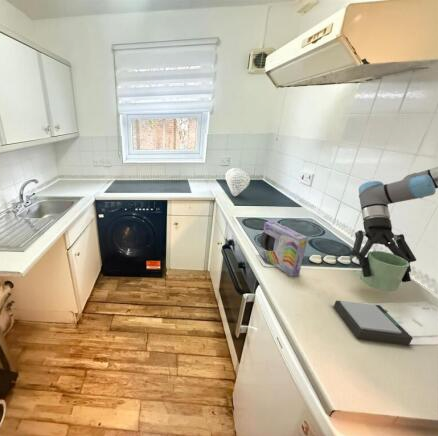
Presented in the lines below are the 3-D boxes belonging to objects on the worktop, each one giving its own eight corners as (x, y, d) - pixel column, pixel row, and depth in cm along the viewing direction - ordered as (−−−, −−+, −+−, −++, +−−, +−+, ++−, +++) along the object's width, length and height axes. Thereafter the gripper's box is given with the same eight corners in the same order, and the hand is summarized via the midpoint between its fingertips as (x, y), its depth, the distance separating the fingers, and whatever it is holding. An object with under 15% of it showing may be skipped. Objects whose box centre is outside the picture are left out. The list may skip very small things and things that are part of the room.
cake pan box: (256, 254, 113) (263, 220, 106) (265, 252, 114) (272, 219, 108) (290, 277, 96) (300, 239, 89) (299, 275, 98) (310, 237, 91)
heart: (221, 191, 212) (224, 166, 203) (239, 191, 210) (243, 166, 202) (228, 201, 186) (232, 173, 177) (249, 201, 185) (254, 173, 176)
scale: (376, 312, 79) (380, 303, 78) (408, 345, 67) (414, 336, 66) (333, 307, 81) (336, 298, 80) (357, 339, 69) (361, 329, 68)
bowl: (392, 280, 87) (404, 255, 83) (400, 296, 79) (413, 270, 75) (357, 271, 92) (366, 248, 88) (361, 286, 84) (371, 260, 80)
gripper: (405, 226, 90) (418, 285, 82) (335, 220, 96) (341, 275, 88) (422, 219, 83) (438, 282, 75) (346, 213, 89) (353, 271, 81)
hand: (386, 278), depth 82 cm, fingers closed on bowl, 10 cm apart
